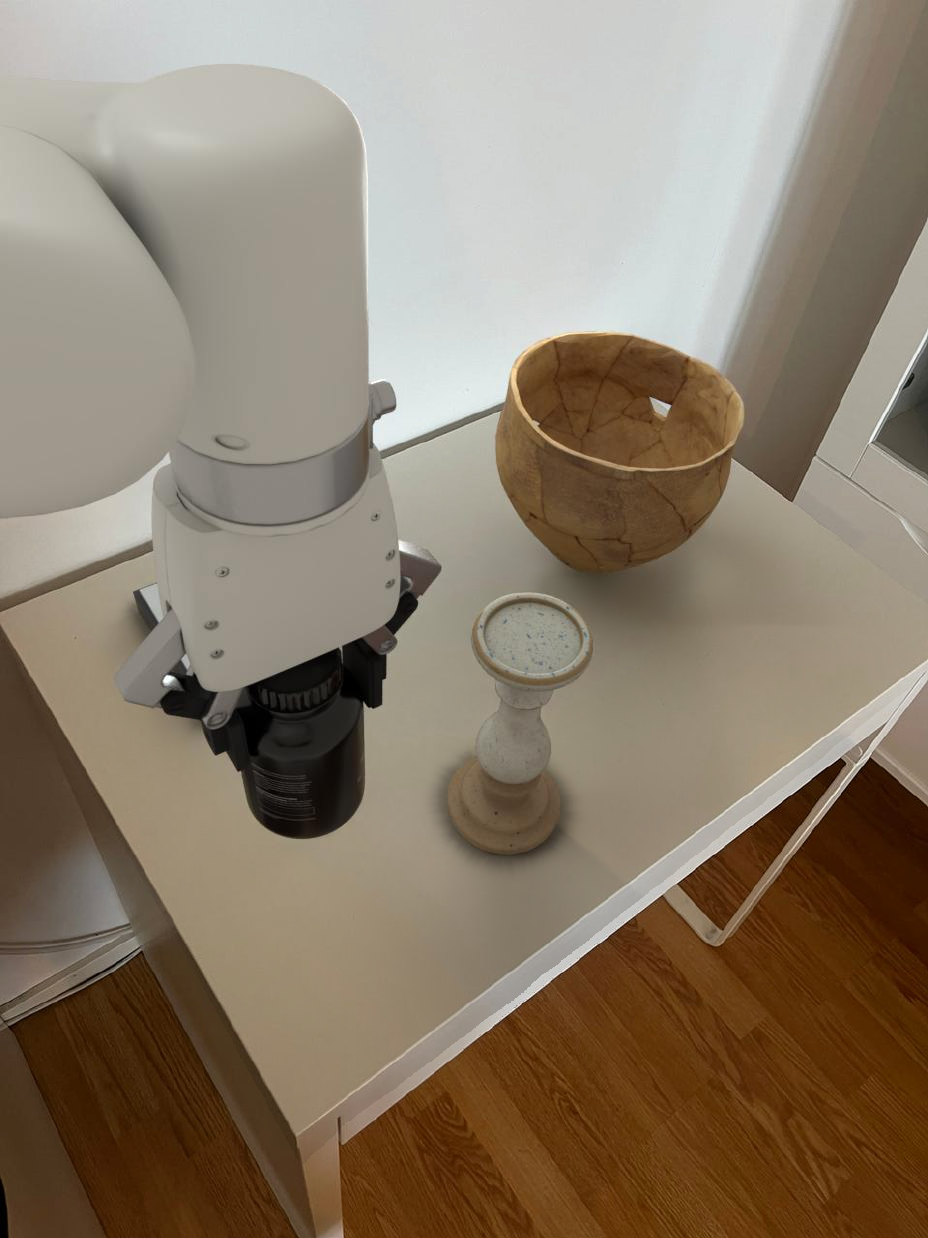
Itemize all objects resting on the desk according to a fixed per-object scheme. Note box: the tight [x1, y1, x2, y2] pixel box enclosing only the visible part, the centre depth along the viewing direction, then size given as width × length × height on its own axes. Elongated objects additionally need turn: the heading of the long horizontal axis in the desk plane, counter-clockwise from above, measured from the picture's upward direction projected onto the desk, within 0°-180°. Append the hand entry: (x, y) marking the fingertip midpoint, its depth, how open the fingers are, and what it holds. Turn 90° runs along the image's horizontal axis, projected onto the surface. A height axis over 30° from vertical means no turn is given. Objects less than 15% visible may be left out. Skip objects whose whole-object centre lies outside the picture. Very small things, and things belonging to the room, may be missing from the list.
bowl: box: [494, 330, 745, 575], centre depth 83 cm, size 21×20×20 cm
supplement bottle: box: [235, 647, 366, 840], centre depth 49 cm, size 7×7×12 cm
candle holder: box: [446, 591, 594, 855], centre depth 65 cm, size 9×9×20 cm
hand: (299, 716), depth 49 cm, fingers closed on supplement bottle, 6 cm apart
